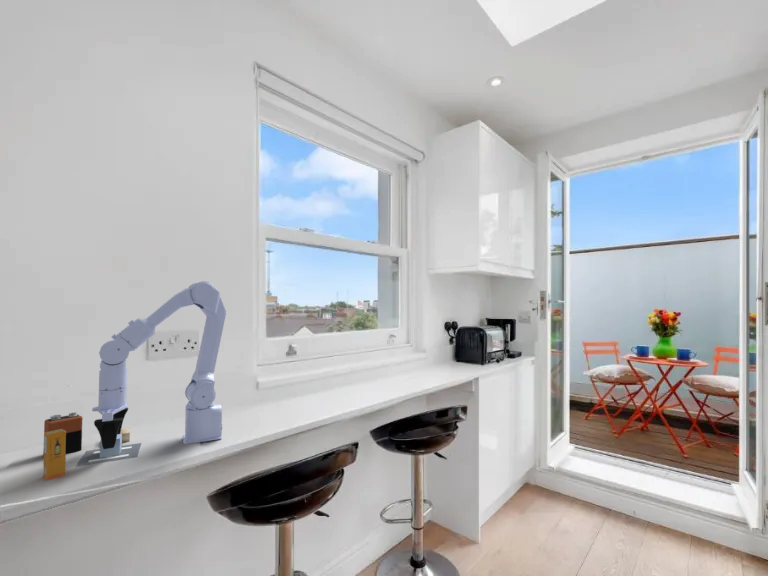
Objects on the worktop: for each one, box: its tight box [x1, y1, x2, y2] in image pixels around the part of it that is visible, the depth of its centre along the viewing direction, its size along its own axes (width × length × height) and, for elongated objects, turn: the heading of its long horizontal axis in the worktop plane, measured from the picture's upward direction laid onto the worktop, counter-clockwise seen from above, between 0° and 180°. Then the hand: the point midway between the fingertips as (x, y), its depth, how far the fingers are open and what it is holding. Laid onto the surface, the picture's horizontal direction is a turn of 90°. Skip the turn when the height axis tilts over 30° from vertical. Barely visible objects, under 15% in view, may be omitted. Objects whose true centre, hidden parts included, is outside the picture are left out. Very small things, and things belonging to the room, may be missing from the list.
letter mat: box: [75, 442, 142, 468], centre depth 95 cm, size 12×11×1 cm
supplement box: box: [42, 429, 67, 481], centre depth 83 cm, size 3×3×10 cm
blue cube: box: [99, 434, 123, 458], centre depth 95 cm, size 4×4×4 cm
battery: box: [42, 412, 83, 456], centre depth 96 cm, size 4×7×10 cm, turn 143°
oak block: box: [120, 427, 131, 444], centre depth 104 cm, size 5×5×3 cm
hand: (111, 443), depth 95 cm, fingers open, 7 cm apart
